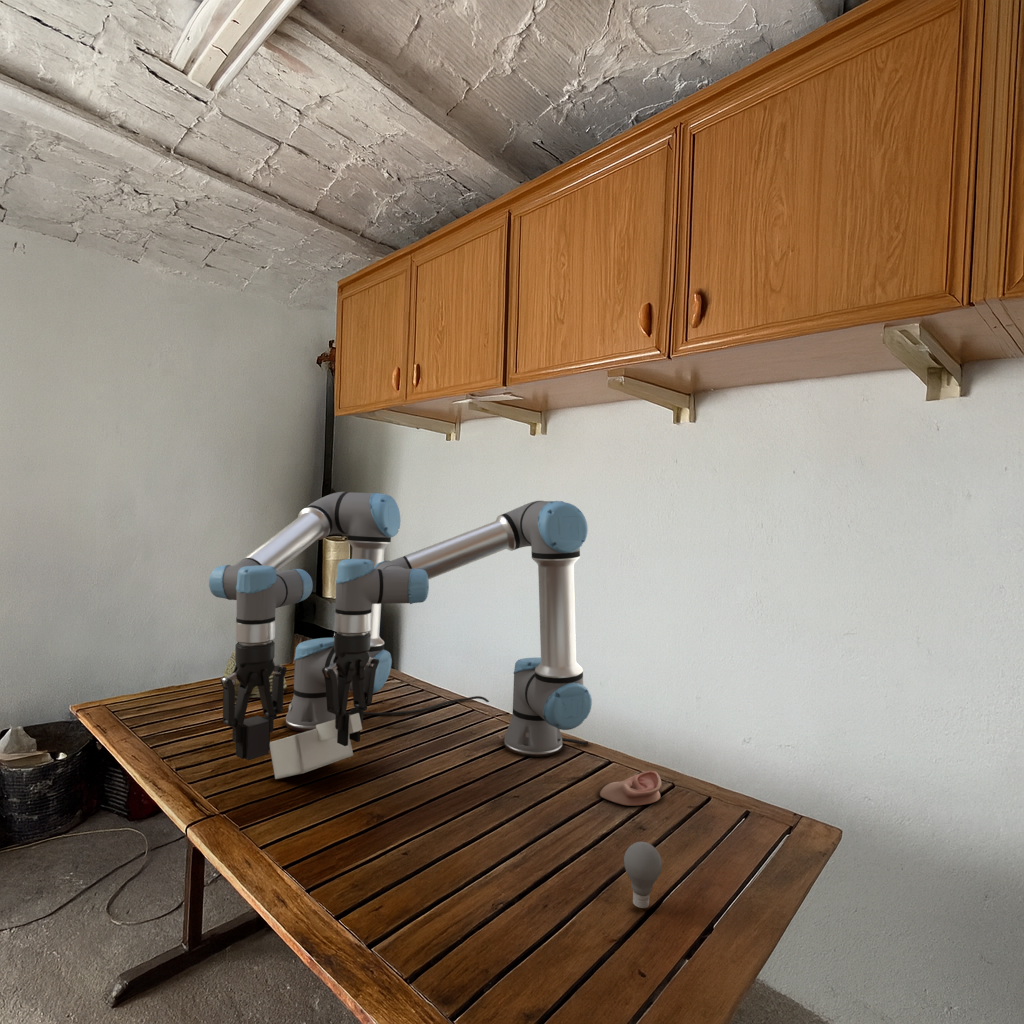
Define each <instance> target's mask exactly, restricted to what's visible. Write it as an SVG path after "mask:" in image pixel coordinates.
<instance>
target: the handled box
mask: <svg viewBox="0 0 1024 1024" xmlns="http://www.w3.org/2000/svg"><path fill="white" fill-rule="evenodd" d="M357 731H360V732H361V731H363V725H362V724H361V720H360V716H359V713H356V714H353V715H350V714H349V729H348V745H347V746H343V745H341V744H339V743H337V734H338V730H337V729H336V728H335V720H332V721H329V722H325V723H322V724H318V725H316V729H313V730H310V731H307V732H299V733H297V734H293V735H290V736H287V737H284V738H279V739H276V740H273V741H270V750H269V752H270V758H271V764H272V768H273V774H274V779H275V780H279V779H284V778H288V777H292V776H299V775H302V774H305V773H308V772H312V771H314V770H317V769H319V768H322V767H325V766H329V765H331V764H334V763H337V762H339V761H342V760H345V759H348V758H351V757H354V752H353V751H354V750H353V747H352V740H351V739H349V734H351V733H354V732H357Z"/></svg>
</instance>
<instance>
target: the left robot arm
mask: <svg viewBox="0 0 1024 1024" xmlns="http://www.w3.org/2000/svg"><path fill="white" fill-rule="evenodd" d="M400 527H401V510H400V508H399V505H398V503H397V501H396V500H395V498H394V497H393V496H392V495H389V494H387V493H380V492H379V493H378V492H352V491H351V492H350V491H338V492H333V493H330V494H328V495H325V496H323V497H321V498H318V499H317V500H315V501H313V502H311V503H310V504H309V505H307V506H305V507H304V508H303V509H301V510H300V511H299V513H298V515H297V518H295V519H294V520H292V521H291V522H290V523H289V524H288V525H286V526H285V527H284V528H282V529H281V530H279V531H278V532H277V533H275V534H274V535H273V536H271V537H270V538H269V539H267V540H266V541H265V542H263V543H262V544H260V546H258V547H257V548H256V549H254V550H253V551H251V552H250V553H249V554H248V555H246V556H245V557H243V558H242V559H240V560H239V561H238V562H236V563H235V564H233V565H231V564H226V565H224V564H223V565H218V566H216V567H215V568H214V569H212V571H211V573H210V575H209V578H208V586H209V587H208V588H209V590H210V591H209V592H210V593H211V594H212V595H213V596H214V597H216V598H220V599H225V600H228V601H236V617H235V618H236V619H235V641H236V642H237V643H235V646H234V647H235V650H234V651H235V661H236V666H235V669H234V671H233V673H232V674H231V675H229V676H227V677H225V676H223V675H222V676H221V677H220V679H219V681H220V683H221V684H220V685H221V687H222V723H223V724H224V725H225V726H227V727H230V728H232V731H231V732H232V735H231V736H232V738H231V740H232V742H234V743H235V756H237V757H238V758H239V759H241V760H245V759H244V758H246V726H244V725H243V723H244V719H246V713H247V710H248V705H249V700H250V698H249V697H250V694H251V693H252V690H253V688H254V687H256V686H257V687H258V689H259V694H260V697H259V698H260V703H261V708H262V713H263V716H261V717H262V718H264V719H266V720H268V721H269V751H270V742H271V734H272V733H273V732H274V720H276V719H277V717H278V715H279V714H282V712H283V711H284V692H283V689H284V677H286V674H287V671H288V668H287V667H286V666H284V665H282V664H276V663H275V662H274V659H275V650H276V649H275V648H276V645H275V644H276V643H275V641H274V640H275V638H276V609H279V608H282V607H286V606H290V605H296V604H299V603H300V602H302V601H305V600H306V599H308V597H310V595H311V594H312V592H313V587H314V585H313V584H314V583H313V579H312V577H311V575H310V574H309V573H308V572H307V571H306V570H304V569H302V568H289V569H285V570H283V568H285V567H286V566H287V565H288V564H289V563H291V562H292V561H293V560H294V559H296V557H298V556H299V555H300V554H302V553H303V552H304V551H305V550H306V549H308V548H309V547H310V546H311V545H312V544H314V543H315V542H316V541H321V540H324V539H325V538H327V537H328V536H329V535H335V534H342V535H347V542H348V544H349V545H350V546H351V547H352V552H351V553H352V554H351V559H366V560H371V561H372V562H373V566H375V565H376V564H378V563H379V562H382V561H385V549H387V547H389V545H391V543H392V538H394V537H396V536H397V535H398V533H399V530H400ZM381 612H382V604H372V614H371V630H370V631H369V633H370V634H371V640H370V650H369V651H368V652H369V655H370V657H371V658H375V659H378V660H379V664H378V666H377V669H376V674H375V681H374V689H373V694H376V693H378V692H379V691H380V690H382V689H383V687H384V686H385V685H386V682H387V681H388V678H389V676H390V673H391V669H392V663H393V660H392V659H393V658H392V655H391V653H390V652H389V651H388V650H387V649H385V641H384V639H382V638H381V636H380V631H381V630H380V628H381V616H382V615H381ZM294 653H295V654H294V659H293V660H294V672H293V695H292V696H293V697H292V699H291V702H289V705H288V711H287V713H286V715H285V726H286V728H287V729H289V730H291V731H294V732H295V731H296V732H300V733H303V732H307V731H310V730H313V729H316V725H318V724H322V723H325V722H329V721H332V720H335V718H336V715H335V714H333V713H330V712H328V711H327V700H326V685H325V677H324V675H323V672H322V669H323V667H327V668H328V667H329V666H330V665H331V664H333V660H334V657H335V651H334V637H320V638H319V637H318V638H313V639H307V640H304V641H302V642H299V643H298V644H297V645H296V647H295V652H294ZM364 670H365V668H364ZM336 672H337V675H336V677H337V676H338V671H337V669H336ZM272 673H273V679H272V696H271V692H270V682H269V677H270V675H271V674H272ZM236 679H237V680H238V681H239V686H238V691H239V692H238V696H237V698H235V688H234V685H236V683H235V680H236ZM337 687H338V679H337ZM349 692H353V688H352V682H350V687H349ZM477 699H478V700H483V701H484V702H486V703H490V700H489V699H487V698H486V697H484V696H481V695H476V696H470V697H463V698H462V697H461V698H456V699H452V700H447V701H444V702H441V703H437V704H434V705H430V706H428V707H424V708H419V709H413V710H404V711H389V712H370V711H369V712H368V711H363V716H394V715H396V716H397V715H408V714H415V713H420V712H426V711H430V710H433V709H435V708H440V707H442V706H446V705H450V704H453V703H457V702H458V703H459V702H465V701H471V700H477ZM346 714H349V715H350V711H349V710H348V711H347V710H346Z"/></svg>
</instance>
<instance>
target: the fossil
mask: <svg viewBox="0 0 1024 1024" xmlns="http://www.w3.org/2000/svg"><path fill="white" fill-rule="evenodd" d="M235 666H236V661H235V650H233V651H232V653H231V656H230V657H229V659H228V660H227V663H226V666H225V668H224V671H223V675H222V677H223V676H225V677H227V676H229V675H231V674H232V673H233V671H234V669H235ZM285 677H286V676H284V689H283V693H285V691H286V689H287V687H288V686H287V680H286V678H285ZM272 679H273V673H272V674H271V675H270V677H269V682H270V692H271V697H272ZM235 683H236V685H234V688H235V699H237V696H238V692H239V691H238V686H239V681H238V680H237V679H236V680H235ZM250 698H260V694H259V689H258V687H257V686H256V687H254V688H253V690H252V693H251V694H250V697H249V699H250Z"/></svg>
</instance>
